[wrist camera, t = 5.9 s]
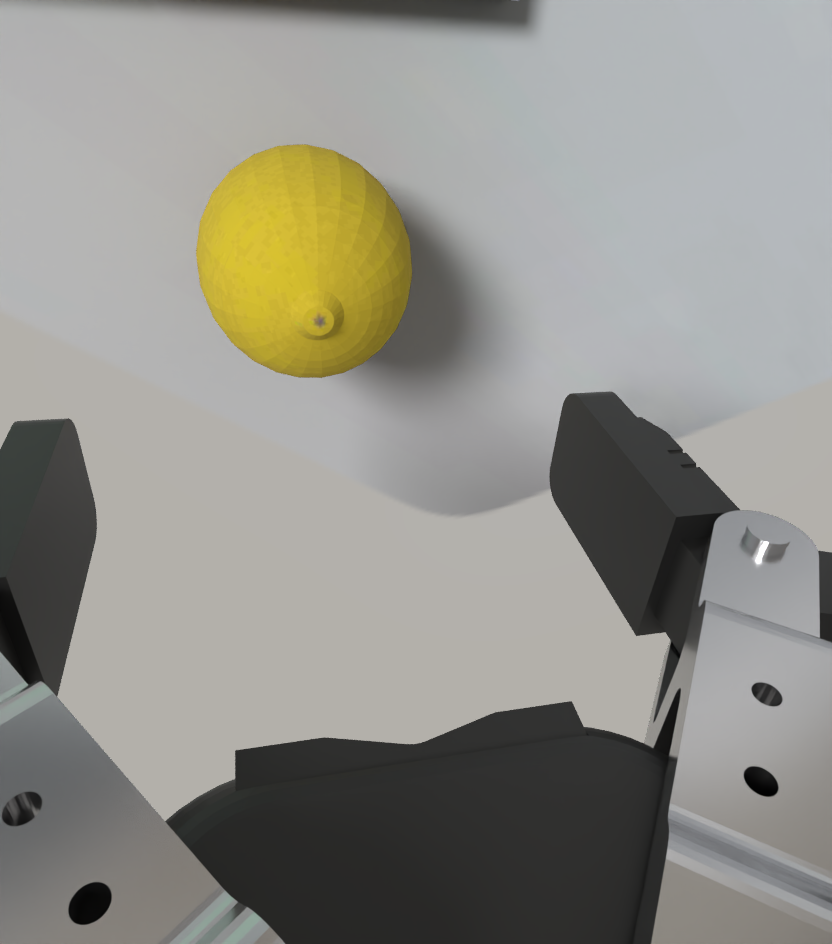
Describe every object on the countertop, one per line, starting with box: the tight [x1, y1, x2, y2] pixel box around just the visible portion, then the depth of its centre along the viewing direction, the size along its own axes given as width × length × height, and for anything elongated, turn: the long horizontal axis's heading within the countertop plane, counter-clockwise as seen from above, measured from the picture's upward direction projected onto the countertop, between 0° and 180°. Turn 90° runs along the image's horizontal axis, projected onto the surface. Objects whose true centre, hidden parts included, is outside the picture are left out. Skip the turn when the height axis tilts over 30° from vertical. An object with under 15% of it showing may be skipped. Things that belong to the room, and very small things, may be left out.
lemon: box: [196, 145, 412, 378], centre depth 19 cm, size 6×6×8 cm
